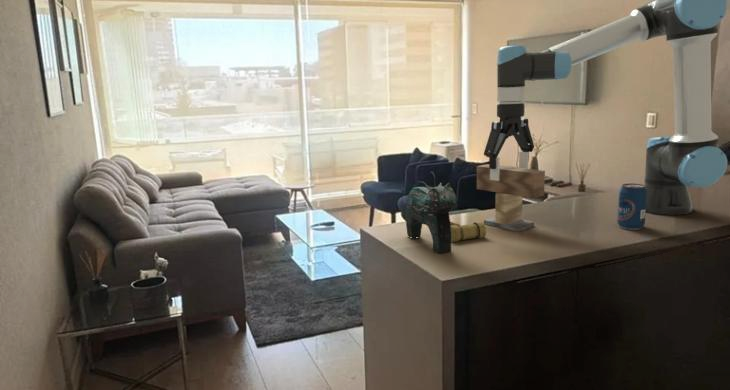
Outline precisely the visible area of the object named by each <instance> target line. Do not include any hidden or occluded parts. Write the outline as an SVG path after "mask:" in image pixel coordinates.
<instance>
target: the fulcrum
mask: <svg viewBox="0 0 730 390" xmlns="http://www.w3.org/2000/svg"><path fill="white" fill-rule="evenodd" d="M494 205H495V212H494V213H495V216H493V217H490V218H486V219H483V223H484V225H485V226H486V225H487V226H491V227H494V228H500V229H504V230H508V231H513V232H520V231H524V230H526V229H530V228H532V227H535V222H534V221H531V220H525V219H523V197H522V196H516V195H510V194H504V193H498V192H495V204H494Z"/></svg>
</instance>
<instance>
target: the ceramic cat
mask: <svg viewBox="0 0 730 390" xmlns="http://www.w3.org/2000/svg"><path fill="white" fill-rule="evenodd" d="M431 174H432V176H433V181H434V183H433V187H432V186H430V185H427V184H426V182H424V181H420V180H419V181H416V182H415V183H414V184H413V186H412V188H411V190H410V191H409V193H408V195H407V198H406V209H405V225H406V226H405V227H406V234H407V235H408V236H409V237H412V238H416V237H420V238H421V235H422V229H423V225H426V226H427V228H428V230H429V232H430V234H431V239H432V251H433V250H434V252H437V253H438V254H447V253H451V252H452V242H451V236H452V235H451V226H450V222H451V219H450V213H449V212H450V211H452V210H454V209H455V208H456V204H457V203H456V202H457V201H456V199H457V196H456V193H455V191H454V189H453V188H452V187H451V182H448V183H447V184H446V185H444V186H443V183H442V182H440V183H439V184H438V185H437V186H436V176H435V173H434V171H430V172H429V173H428V175H427V176H428V177H429V176H431ZM418 184H423V185H424V186H417V185H418ZM416 186H417V187H416ZM407 235H406V236H407ZM408 236H407V237H408ZM409 237H408V238H409Z"/></svg>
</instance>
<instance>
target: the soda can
mask: <svg viewBox="0 0 730 390" xmlns="http://www.w3.org/2000/svg"><path fill="white" fill-rule="evenodd" d="M646 202H647V191H646V189H645V185H644V184H641V183H640V184H639V183H624V184H622V185H621V188H620V189H619V192H618V203H617V205H618V206H617V219H616V220H617V221H616V222H617V224H618V225H619V227H620V228H621V229H625V230H631V231H632V230H636V231H637V230H641V229H643V227H644V226H645V224H646V215H647V214H646V213H647V212H646Z"/></svg>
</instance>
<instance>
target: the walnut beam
mask: <svg viewBox="0 0 730 390" xmlns="http://www.w3.org/2000/svg"><path fill="white" fill-rule="evenodd" d="M545 177H546V170H542V169H541V170H539V169H532V168H531V169H530V168H528V169H524V168H519V167H513V166H505V165H499V181H495V180H490V168H489V163H487V164H482V165H478V166H477V165H476V190H480V191H481V190H483V191H487V192H493V193H504V194H510V195H516V196H522V198H528V199H537V198H540V197H544V196H545V181H546V179H545Z"/></svg>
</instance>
